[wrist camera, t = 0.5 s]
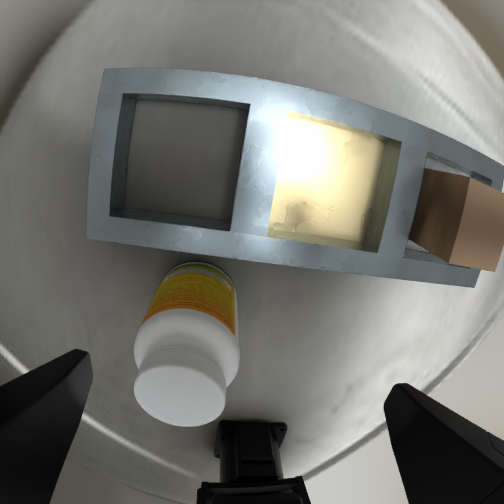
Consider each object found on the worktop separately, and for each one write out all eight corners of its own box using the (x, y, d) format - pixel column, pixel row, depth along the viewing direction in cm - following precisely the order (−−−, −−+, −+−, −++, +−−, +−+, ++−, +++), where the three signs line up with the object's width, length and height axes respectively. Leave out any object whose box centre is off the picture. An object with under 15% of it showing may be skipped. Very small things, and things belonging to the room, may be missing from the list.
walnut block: (446, 243, 21) (495, 271, 15) (399, 233, 20) (448, 263, 14) (461, 183, 19) (514, 199, 13) (414, 166, 18) (470, 177, 13)
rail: (457, 275, 22) (474, 287, 19) (102, 227, 18) (86, 238, 16) (485, 163, 18) (505, 166, 16) (119, 77, 15) (104, 68, 13)
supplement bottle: (149, 268, 20) (95, 358, 10) (227, 251, 20) (224, 341, 10) (173, 334, 21) (147, 438, 12) (244, 321, 21) (253, 429, 12)
